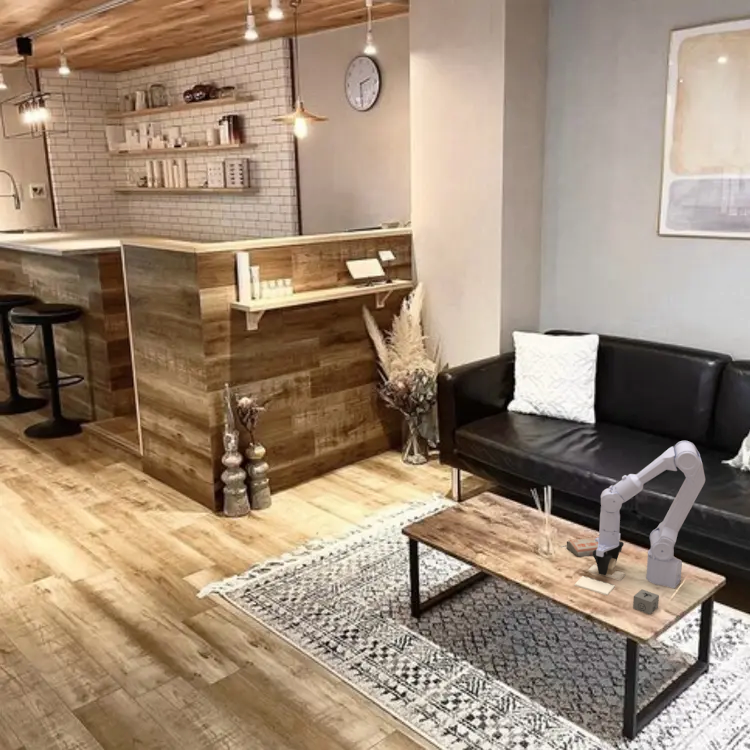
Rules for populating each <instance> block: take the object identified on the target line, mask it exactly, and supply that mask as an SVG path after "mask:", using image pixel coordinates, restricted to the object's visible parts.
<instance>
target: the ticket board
mask: <svg viewBox="0 0 750 750" xmlns="http://www.w3.org/2000/svg"><path fill="white" fill-rule="evenodd" d="M574 587H578V588H580V589H583V590H587V591H590V592H592V593H593V592H594V593H597V594H600V595H603V596H609V595H610V594H611V592H612V591H613V590H614V589H615V588H616V585H615V584H612V583H608V582H605V581H602V580H599V579H595V578H592V577H588V576H584V575H582V576H581V577H580V578H579V579H578V580H577V581H576V582H575V583H574Z"/></svg>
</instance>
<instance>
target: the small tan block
mask: <svg viewBox="0 0 750 750" xmlns="http://www.w3.org/2000/svg"><path fill="white" fill-rule="evenodd" d="M616 565H617V562H616V559H614V558H611V560H610V562H609V565H608V570H607V574H606V575H602V574H599V572H598V567H597V564H593V565H591V566H590V567H589V568H588V570H587V572H589V573H592V574H597V575H599V576H603V577H607V578H609V579H614V580H616V581H620V582H622V580H623V578H624V577H625V576H626V573H625V572H622V571H620V570H619V571H618V570H616V567H617V566H616Z"/></svg>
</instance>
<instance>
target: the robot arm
mask: <svg viewBox="0 0 750 750" xmlns="http://www.w3.org/2000/svg"><path fill="white" fill-rule="evenodd" d="M677 468H678V469H677ZM666 470H667V471H673V472H677V471H678V470H679V471H681V472H682V473H683V474H684V477H685V479H684V481H683V482H682V484H681V487H680V488H679V491H678V492H677V493H676V495H675V497H674V500H673V501H672V503H671V505H670V507H669V508H668V509H669V510H668V511H667V513H666V515H665V517H664V518H663V520H662V522H660V523H659V524H658V526H657V527H656V528H655V529H653V530H652V531H651V532H650V534H649V541H650V548H649V549H648V551H647V560H646V562H647V563H646V577H645V578H646V580H647V582H650V583H651V584H653V585H657V586H664V587H668V588H672V589H676V588H677V586H678V585H679V584H680V582H681V580H682V569H683V568H682V566H683V563H682V562H683V561H682V560H681V559H679V558H677V557H675V556H674V553H675V552H674V547H675V545H676V542H677V537H678V534H679V532H680V530H681V528H682V526H683V524H684V522H685V520H686V518H687V517H688V515H689V513H690V510H691V509H692V507H693V505H694V504H695V501H696V499H697V497H698V495H699V494H700V492H701V491H702V488H703V487H704V485H705V482H706V476H705V470H704V464H703V462H702V458H701V454H700V452H699V451H698V449H697V447H696V445H695V444H694V443H693V442H691V441H688V440H681V441H678V442H677V443H676V444H674V445H673V446H670V447H669V448H668V449H667V450H665V451H664V452H663V453H662V454H661V455H659V456H658V457H657V458H655V459H654V460H653V461H652V462H651V463H649V464H648V465H646V466H645V467H644V468H643V469H641V470H640V471H638V472H637V473H636V474H634V473H629V474H628V475H626V474H624V475H623V476H621V480H620V481H618V482H616V483H615V484H614V485H613V484H612V485H610V486H609V487H608V488H605V489H604V490H602V492H601V494H600V505H601V506H600V512H599V513H600V514H599V532H598V534H599V535H598V536H596V537H597V538H596V539H595V541H596V542H598V548H597V550H594V551H593V556H592V558H594V560H595V563H596V565H597V567H598V572H599V574H602V575H606V574H607V570H608V565H609V562H610V560H611V558H614V559H616V563H617V561H618V558H619V554H620V553H621V552H620V550H621V548H622V549H623V547H624V545H625V544H624V542H623V541H620V540H621V533H620V524H621V523H620V522H621V521H620V520H621V514H620V510H621V508H622V505H623V504H624V503H626V502H627V501H629V500H630V499H632V498H633V497H634V496H636V495H638V494H639V493H640V492H642V491H643V490H644V484H646V483H648V482H649V481H651V480H652V479H654V478H655V477H657V476H658V475H660V474H662V473H663V472H665V471H666ZM606 551H607V553H606ZM621 551H622V550H621ZM599 574H598V575H599ZM602 575H601V576H602Z"/></svg>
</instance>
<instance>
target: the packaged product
mask: <svg viewBox="0 0 750 750" xmlns="http://www.w3.org/2000/svg"><path fill="white" fill-rule="evenodd" d="M597 537H598V536H595V537H594V536H593V537H585V538H576V539H569V540H567V541H566V545H560V548H564V549H565V550H566V551H569V552H570V553H572V554H574V555H575V556H577V557H580V558H581V557H591V556H592V557H593V551H594V550H597V548H598V542H596V541H595V539H596V538H597ZM622 550H623V547H622V548H621V550H620V552H619V553H623V552H622ZM606 553H607V551H606Z"/></svg>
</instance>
